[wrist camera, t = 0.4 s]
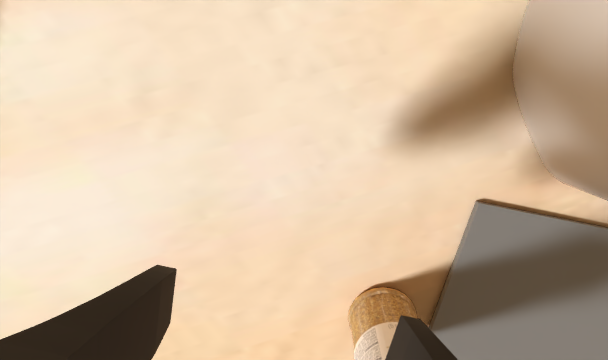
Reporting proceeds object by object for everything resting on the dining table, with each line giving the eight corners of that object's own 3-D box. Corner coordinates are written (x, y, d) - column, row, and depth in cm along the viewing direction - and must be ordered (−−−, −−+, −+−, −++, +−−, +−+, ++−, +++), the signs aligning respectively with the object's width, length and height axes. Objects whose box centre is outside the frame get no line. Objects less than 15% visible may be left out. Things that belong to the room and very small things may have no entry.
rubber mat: (621, 462, 25) (626, 468, 24) (393, 420, 24) (395, 425, 24) (759, 258, 20) (768, 261, 19) (476, 200, 19) (479, 203, 19)
